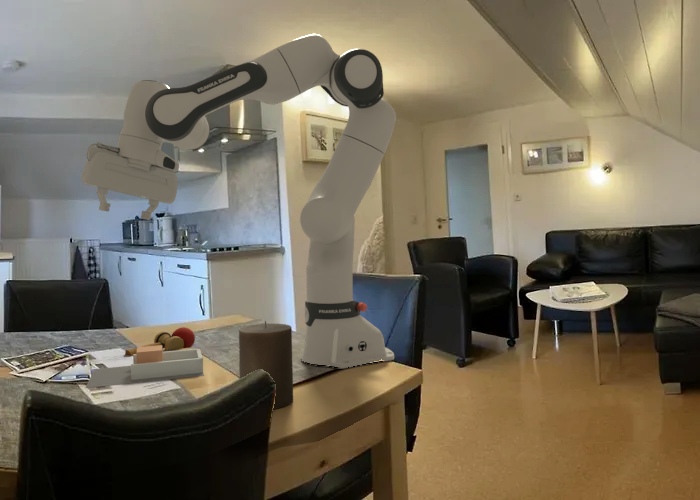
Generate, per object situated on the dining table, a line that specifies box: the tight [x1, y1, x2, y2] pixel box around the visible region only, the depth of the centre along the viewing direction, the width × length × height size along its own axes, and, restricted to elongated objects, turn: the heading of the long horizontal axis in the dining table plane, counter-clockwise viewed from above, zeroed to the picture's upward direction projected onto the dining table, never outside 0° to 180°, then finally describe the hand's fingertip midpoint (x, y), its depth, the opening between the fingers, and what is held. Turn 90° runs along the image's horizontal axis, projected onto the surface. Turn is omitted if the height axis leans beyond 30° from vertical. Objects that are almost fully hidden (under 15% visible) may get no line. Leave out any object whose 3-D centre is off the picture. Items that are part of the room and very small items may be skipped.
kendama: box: [124, 326, 196, 357], centre depth 131 cm, size 8×6×18 cm
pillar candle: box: [237, 320, 294, 410], centre depth 95 cm, size 10×10×15 cm
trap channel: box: [85, 348, 205, 389], centre depth 110 cm, size 22×14×4 cm, turn 110°
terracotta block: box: [136, 345, 164, 364], centre depth 110 cm, size 5×5×5 cm
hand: (125, 215), depth 114 cm, fingers open, 8 cm apart
